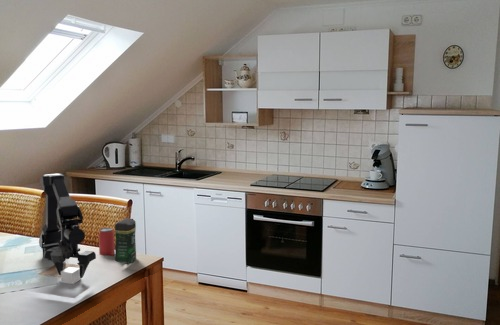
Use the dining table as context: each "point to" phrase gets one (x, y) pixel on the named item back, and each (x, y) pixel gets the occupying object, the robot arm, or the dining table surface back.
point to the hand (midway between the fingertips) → (71, 276)
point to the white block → (70, 275)
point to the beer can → (106, 242)
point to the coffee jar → (125, 241)
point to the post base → (53, 271)
